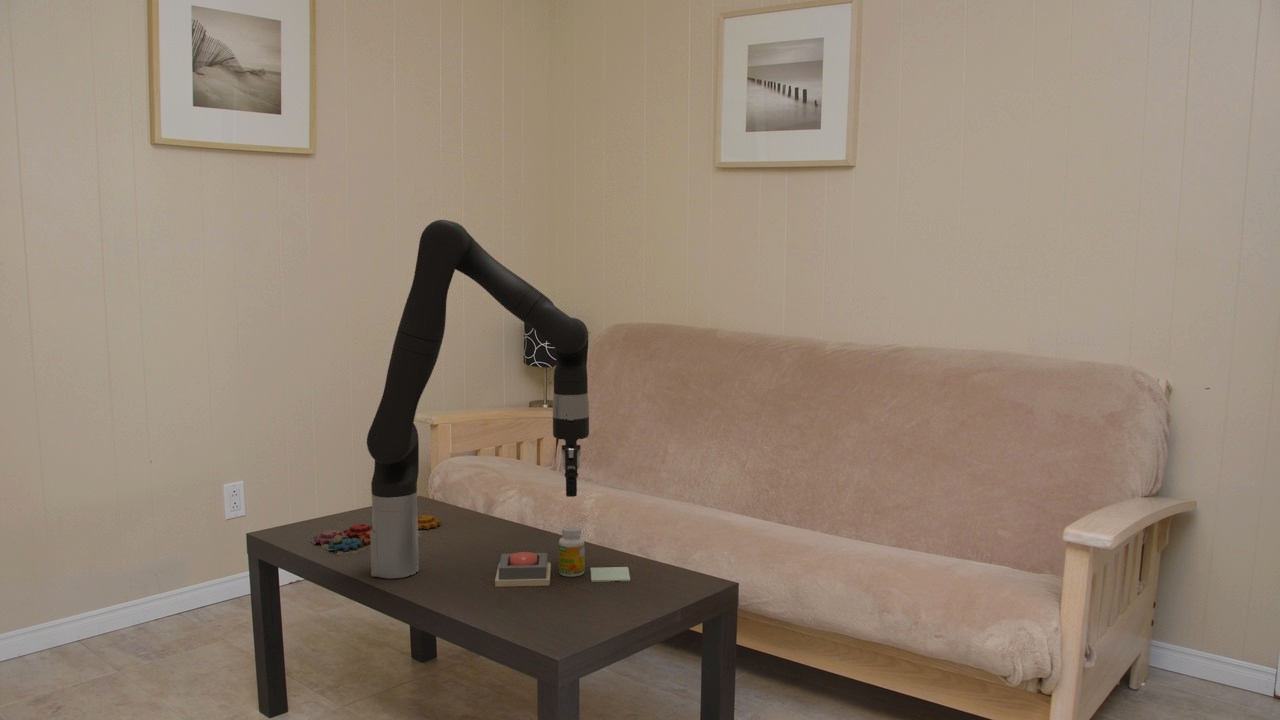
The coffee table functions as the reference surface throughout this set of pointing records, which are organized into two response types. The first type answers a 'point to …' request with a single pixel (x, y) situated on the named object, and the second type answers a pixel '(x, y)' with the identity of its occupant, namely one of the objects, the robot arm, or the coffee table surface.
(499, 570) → the dome console
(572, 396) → the robot arm
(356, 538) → the gear puzzle
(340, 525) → the coffee table surface
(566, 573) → the supplement bottle
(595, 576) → the mat
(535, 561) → the dome button
